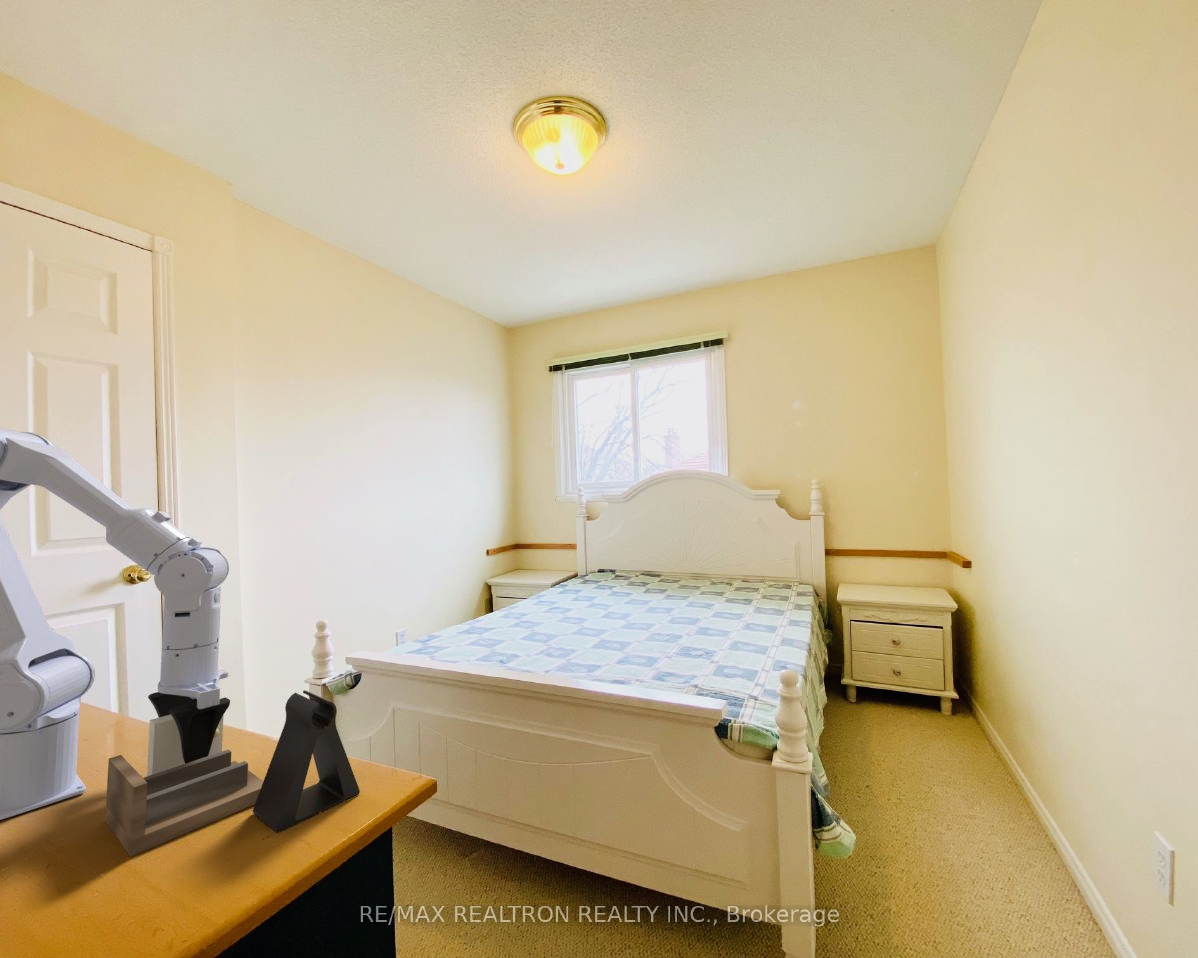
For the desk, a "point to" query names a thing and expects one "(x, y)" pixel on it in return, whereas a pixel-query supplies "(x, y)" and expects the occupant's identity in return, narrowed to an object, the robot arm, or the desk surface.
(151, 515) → the robot arm
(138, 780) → the brown base with rails
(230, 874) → the desk surface
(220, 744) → the cabinet door
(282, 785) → the phone stand
